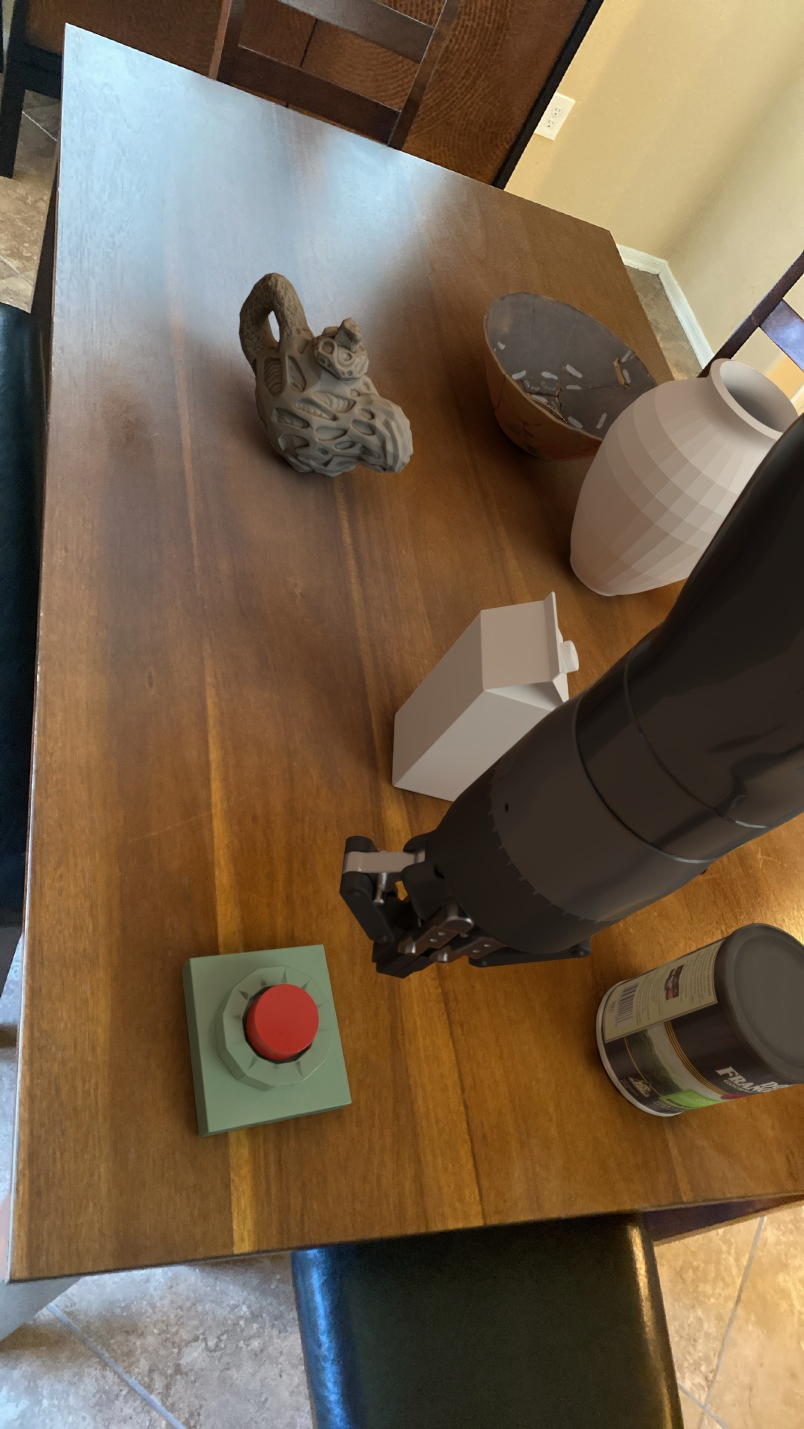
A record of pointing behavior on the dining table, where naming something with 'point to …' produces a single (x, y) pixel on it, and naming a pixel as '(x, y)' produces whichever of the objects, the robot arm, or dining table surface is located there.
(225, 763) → the dining table surface
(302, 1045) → the button
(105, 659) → the dining table surface
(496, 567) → the dining table surface
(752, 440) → the vase
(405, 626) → the dining table surface
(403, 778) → the milk carton
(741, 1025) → the coffee can
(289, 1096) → the button block
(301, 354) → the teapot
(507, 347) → the bowl
